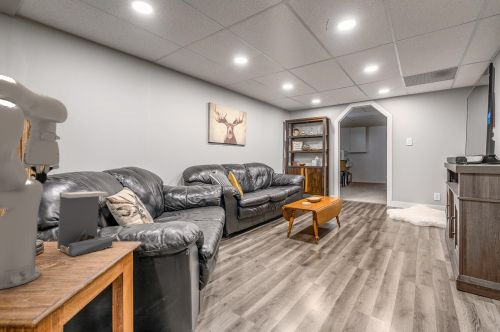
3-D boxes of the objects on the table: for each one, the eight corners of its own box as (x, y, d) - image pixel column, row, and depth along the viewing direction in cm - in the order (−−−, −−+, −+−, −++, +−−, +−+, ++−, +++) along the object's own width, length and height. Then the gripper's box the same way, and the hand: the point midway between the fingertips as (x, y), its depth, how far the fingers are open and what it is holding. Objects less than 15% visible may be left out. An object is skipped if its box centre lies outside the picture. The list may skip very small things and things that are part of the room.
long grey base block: (112, 246, 102) (112, 237, 102) (72, 256, 89) (72, 245, 89) (98, 241, 109) (99, 233, 109) (60, 250, 96) (60, 240, 96)
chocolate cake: (86, 255, 94) (101, 229, 103) (67, 251, 92) (84, 226, 101) (87, 264, 100) (101, 239, 109) (69, 261, 98) (85, 236, 107)
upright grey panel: (106, 245, 105) (108, 192, 106) (66, 254, 92) (69, 194, 93) (95, 241, 110) (97, 191, 111) (57, 249, 97) (60, 193, 98)
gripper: (62, 140, 98) (60, 182, 97) (14, 135, 85) (11, 183, 85) (69, 139, 94) (67, 183, 93) (19, 133, 81) (17, 184, 81)
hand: (40, 183), depth 89 cm, fingers closed
